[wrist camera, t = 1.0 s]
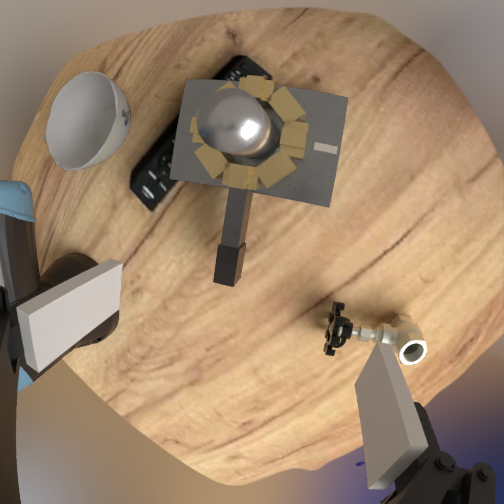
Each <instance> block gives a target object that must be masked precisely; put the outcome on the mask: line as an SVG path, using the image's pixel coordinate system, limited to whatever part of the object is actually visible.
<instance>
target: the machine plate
mask: <svg viewBox="0 0 504 504" xmlns="http://www.w3.org/2000/svg"><path fill="white" fill-rule="evenodd" d="M227 82H229V81H226V80H204V79H186V84H185V89H184V94H183V99H182V104H181V109H180V115H179V120H178V126H177V132H176V138H175V144H174V151H173V157H172V164H171V171H170V179H174V180H181V181H187V182H194V183H201V184H207V185H213V186H219V187H225V188H229V187H228V186H227V185H222V180H223V178H222V179H212V177H211V176H210V174H209V173H208V171H207V170H206V169H205V167H204V166H203V164H202V163H201V161H200V160H199V159H198V157H197V156H196V154H195V153H194V152H195V151H196V150H197V149H199V148H200V147H201V146H202V145H201V144H197V143H193V142H192V138H193V133H190V126H191V120H192V117H196V115H197V120H196V122H197V130H198V133H199V135H200V137H201V139H202V140H203V141H204V142H205V143H206V144H207V145H208V146H209V147H211V148H213V149H215V150H218V151H222V152H226V153H229V154H230V156H231V157H232V159H233V160H234V161H235V163H236V164H240V165H246V166H252V167H257V166H259V165H260V164H261V163H263V162H264V161H266V160H267V159H269V158H270V157H271V156H273V155H274V154H276V153H277V152H279V151H280V147H281V145H280V139H281V133H282V127H284V123H283V121H282V120H281V119H280V117H279V116H278V115H277V114H276V112H275V111H274V110H273V108H270V107H262V106H261V105H260V104H259V103H258V102H257V100H256V99H255V98H254V97H253V96H252V95H251V94H250V93H248V92H246V91H244V90H241V89H238V87H239V82H240V81H231V82H232V83H233V84H234V85H235V86H236V87H237V88H225V89H221V90H218V89H219V88H220V87H222V86H223V85H225V84H226V83H227ZM277 87H278V90H279V89H280V88H282V87H283V86H279V85H277ZM285 87H286V89H287V90H288V91H289V92H290V94H291V95H292V96H293V97H294V98H295V100H296V101H297V102H298V104H299V105H300V106H301V107H302V109H303V110H304V111H305V113H306V118H307V119H306V120H304V121H303V123H308V124H309V132H308V138H307V144H306V150H305V155H304V160H300V159H295V158H291V159H292V161H293V162H294V164H295V165H296V166H297V168H298V169H297V170H295V171H294V172H292V173H291V174H289V175H288V176H287V177H285V178H284V179H282V180H281V181H279V182H278V183H276V184H275V185H273V186H272V187H269V188H266V186H265V185H264V184H263V182H262V187H261V189H260V190H253V192H254V193H259V194H265V195H270V196H275V197H280V198H285V199H290V200H295V201H300V202H305V203H310V204H315V205H319V206H324V207H329V206H330V202H331V197H332V191H333V186H334V181H335V176H336V170H337V165H338V159H339V153H340V147H341V141H342V135H343V129H344V123H345V116H346V109H347V102H348V97H343V96H338V95H333V94H328V93H323V92H318V91H312V90H306V89H300V88H294V87H287V86H285ZM217 90H218V91H217ZM215 91H216V92H215ZM204 100H205V101H204ZM203 101H204V102H203ZM197 110H199V111H198V114H197Z"/></svg>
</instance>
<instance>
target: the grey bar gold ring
mask: <svg viewBox="0 0 504 504" xmlns="http://www.w3.org/2000/svg"><path fill="white" fill-rule="evenodd" d="M225 88H237V87H236V86H235V85H234V84H233V83H232V82H231V81H229V82H227V83H226V84H225V85H223V86H222V87H220V88H219V89H218V90H221V89H225ZM238 89H241V90H244V91H246V92H248V93H250V94H251V95H252V96H253V97H254V98H255V99H256V100H257V102H258V103H259V104H260V105H261V106H262V107H270V108H273V110H274V111H275V112H276V114H277V115H278V116H279V117H280V119H281V120H282V121H283V123H284V127H282V133H281V139H280V145H281V147H280V151H279V152H277V153H276V154H274V155H273V156H271V157H270V158H269V159H267V160H266V161H264V162H263V163H261V164H260V165H259V166H257V167H252V166H246V165H240V164H236V163H235V161H234V160H233V159H232V157H231V156H230V154H229V153H226V152H222V151H218V150H215V149H213V148H211V147H209V146H208V145H207V144H206V143H205V142H204V141H203V140H202V139H201V137H200V135H199V133H198V130H197V122H196V120H197V115H196V117H192V120H191V126H190V133H193V138H192V142H193V143H197V144H201V145H202V146H201V147H200V148H199V149H197V150H196V151H195V152H194V153H195V154H196V156H197V157H198V159H199V160H200V161H201V163H202V164H203V166H204V167H205V169H206V170H207V171H208V173H209V174H210V176H211V177H212V179H222V178H223V180H222V185H227V186H228V187H229V193H228V199H227V206H226V212H225V219H224V226H223V233H222V240H221V244H219V245H218V250H217V258H216V265H215V273H214V280H213V282H215V283H219V284H223V285H227V286H231V287H234V286H235V284H236V283H237V282H238V280H239V279H240V278H241V273H242V267H243V261H244V255H245V248H246V243H245V237H246V231H247V225H248V219H249V213H250V207H251V201H252V195H253V190H260V189H261V187H262V182H263V184H264V185H265V186H266V188H269V187H272V186H273V185H275V184H276V183H278V182H279V181H281V180H282V179H284V178H285V177H287V176H288V175H289V174H291V173H292V172H294V171H295V170H297V169H298V168H297V166H296V165H295V164H294V162H293V161H292V159H291V158H295V159H300V160H304V155H305V150H306V144H307V138H308V132H309V124H308V123H303V121H304V120H306V119H307V118H306V113H305V111H304V110H303V109H302V107H301V106H300V105H299V104H298V102H297V101H296V100H295V98H294V97H293V96H292V95H291V94H290V92H289V91H288V90H287V89H286V87H285V86H283V87H282V88H280V89H279V90H278V87H277V85H276V83H275V81H272V80H265V78H264V77H262V76H252V75H247V78H240V82H239V87H238ZM218 90H217V91H218ZM215 92H216V91H215ZM204 101H205V100H204ZM204 101H203V102H204ZM198 111H199V110H197V114H198Z"/></svg>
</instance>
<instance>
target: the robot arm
mask: <svg viewBox="0 0 504 504" xmlns="http://www.w3.org/2000/svg"><path fill="white" fill-rule="evenodd" d="M34 222H36V219H35V217H34V213H33V201H32V192H31V189H30V187H29V186H28V185H27V184H26V183H24V182H21V181H3V180H0V504H21V501H20V494H19V485H18V474H17V460H16V406H17V392H19V391H20V390H22V389H23V388H25V387H26V386H28V385H31V384H32V383H33V382H34V381H35V380H36V379H37V378H39V377H40V376H41V375H42V374H44V373H45V372H46V371H47V370H48V369H50V368H51V367H52V366H53V365H55V363H57V362H58V361H59V360H61V359H62V358H63V357H64V356H66V355H67V354H68V353H69V352H71V351H72V350H73V349H75V348H79V347H83V346H87V345H90V344H95V343H98V342H101V341H103V340H104V339H105V338H107V337H108V336H109V335H110V334H111V333H113V331H114V330H115V328H116V326H117V324H118V320H119V305H120V289H121V276H122V265H123V263H121V262H119V261H116V260H113V259H109V260H107V261H105V262H103V263H101V264H99V265H98V264H97V263H96V262H95V261H94V260H92V259H91V258H89V257H87V256H85V255H83V254H79V253H71V254H68V255H65V256H63V257H61V258H59V259H57V260H56V261H55V262H54V263H53V264H52V265H51V266H50V267H49V268H48V269H47V270H46V271H45V272H44V273H43V274H42V275H41V276H40V274H39V267H38V259H37V250H36V240H35V227H34ZM355 389H356V395H357V402H358V408H359V415H360V422H361V429H362V437H363V444H364V453H365V462H366V471H367V480H368V489H387V488H388V487H389V486H390V485H391V484H392V483H393V482H394V481H395V486H396V489H395V490H394V491H393V492H392V493H391V494H390V495H388V496H387V497H386V498H385V499H384V500H383V501H381V503H382V504H494V503H495V481H496V477H495V473H494V471H493V469H492V467H490V466H489V465H487V464H486V463H483V462H479V463H476V464H475V465H474V466H473V467H472V468H471V469H470V470H468V469H464V468H460V467H457V465H456V462H455V460H454V459H453V457H452V456H450V455H449V454H448V453H446V452H443V451H440V448H439V445H438V442H437V439H436V437H435V434H434V431H433V428H431V427H432V426H431V423H430V421H429V417H428V415H427V412H426V410H425V409H424V408H423V407H422V405H421V404H420V403H419V402H413V400H412V397H411V394H410V392H409V389H408V386H407V384H406V381H405V379H404V376H403V374H402V371H401V369H400V366H399V364H398V361H397V359H396V356H395V354H394V351H393V349H392V347H391V345H390V344H386V343H382V342H378V341H377V343H376V345H375V347H374V349H373V351H372V353H371V355H370V357H369V359H368V361H367V362H366V364H365V366H364V368H363V370H362V372H361V374H360V375H359V377H358V379H357V381H356V383H355Z"/></svg>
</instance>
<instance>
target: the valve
mask: <svg viewBox="0 0 504 504" xmlns="http://www.w3.org/2000/svg"><path fill="white" fill-rule="evenodd" d="M344 307H345V303H341V302H335V301H334V302H333V305H332V313H330V314H329V318H328V322H329V326H328V329H327V330H326V332H325V338H327V339H326V343H325V344H324V349H323V351H324V352H325V355H329V356H334V354H335V350H332V347H334V348H339V347H342V346H343V345H344V344H345V342H346V339H350V337H351V335H353V336H357V339H358V340H360V341H367V342H368V341H369V339H372V340H373V342H375V343H377V341H378V342H382V343H386V344H390V345H391V347H392V349H393V350H394V351H395V352H396V353H397V354H398V358H399V360H400V363H401V364H406V365H415V364H417V363H418V362H419V361H420V360H421V359H422V358H423V357H424V356H425V355H426V354H427V350H426V343H425V340H424V338H423V335H422V331H421V329H420V327H419V326H418V325H417V324H415V323H414V321H413V319H412V318H411V316H406V315H397V316H396V317H395V318H394V319H393V320H392V321H391V322H390V323H389V324H387V323H381V324H380V325H379V327H376V328H375V329H372V328H371V326H369V325H362V324H361V325H360V326H359V328H356V327H353V323H352V322H350V320H349V319H348V318H345V317H342V316H340V310H344ZM340 338H341V342H340Z"/></svg>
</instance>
